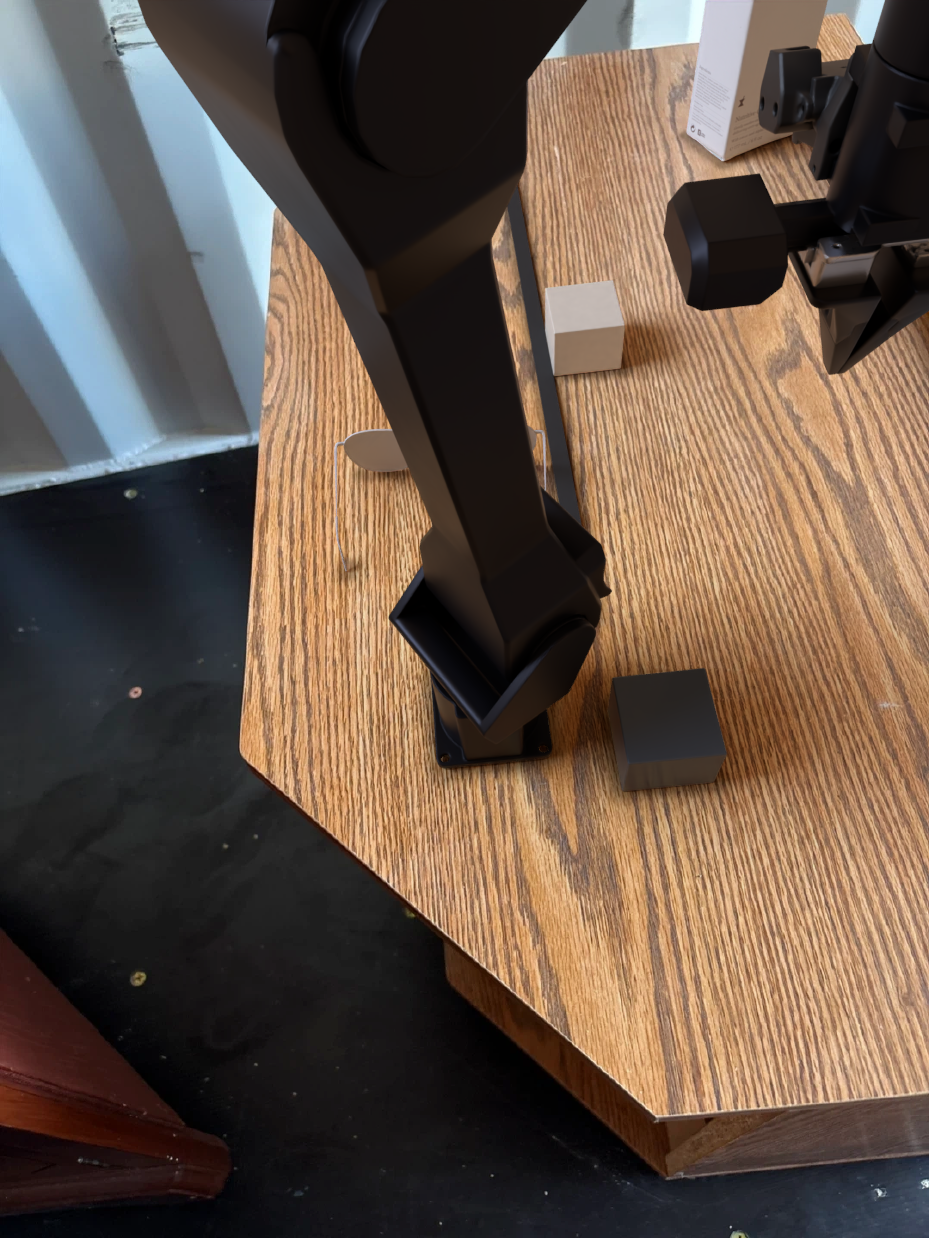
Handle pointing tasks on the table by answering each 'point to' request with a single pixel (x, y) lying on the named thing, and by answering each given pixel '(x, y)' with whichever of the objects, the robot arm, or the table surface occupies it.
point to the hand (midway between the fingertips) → (832, 368)
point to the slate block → (665, 729)
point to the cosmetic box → (743, 67)
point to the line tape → (542, 362)
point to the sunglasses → (388, 456)
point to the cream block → (584, 328)
